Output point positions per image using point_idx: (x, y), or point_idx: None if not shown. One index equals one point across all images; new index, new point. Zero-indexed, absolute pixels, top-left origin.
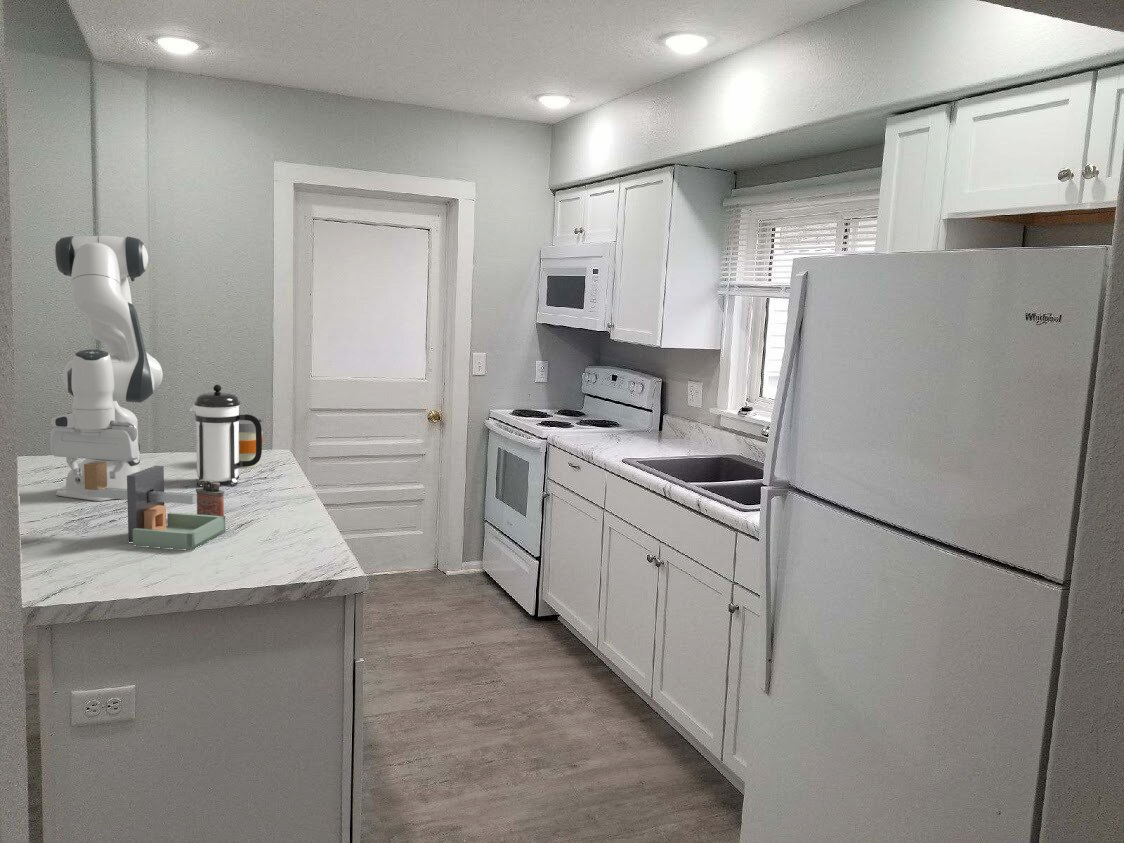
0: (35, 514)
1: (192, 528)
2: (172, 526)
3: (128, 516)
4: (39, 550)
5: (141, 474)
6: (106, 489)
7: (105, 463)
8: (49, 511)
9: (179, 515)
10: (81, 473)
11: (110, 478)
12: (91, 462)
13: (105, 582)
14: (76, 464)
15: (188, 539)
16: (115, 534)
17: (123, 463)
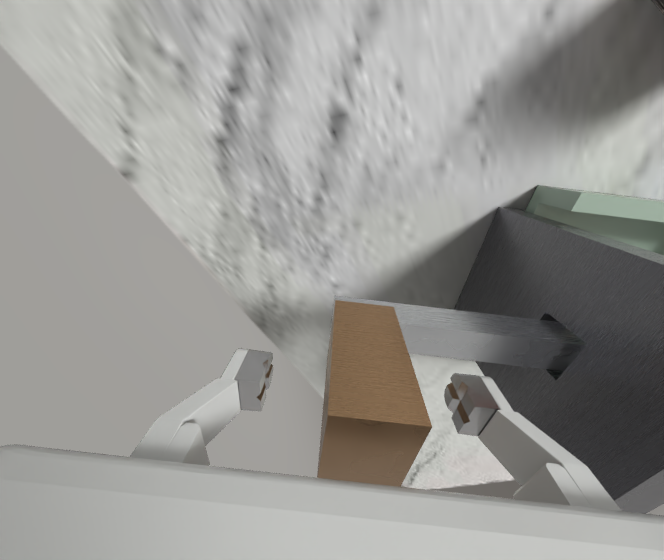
0: (53, 81)
1: (616, 225)
2: (554, 213)
3: (480, 366)
4: (307, 366)
5: (655, 503)
6: (410, 351)
7: (424, 424)
8: (49, 17)
9: (611, 215)
10: (269, 360)
11: (446, 393)
12: (330, 446)
13: (460, 453)
14: (215, 401)
15: None
16: (400, 264)
17: (584, 475)
